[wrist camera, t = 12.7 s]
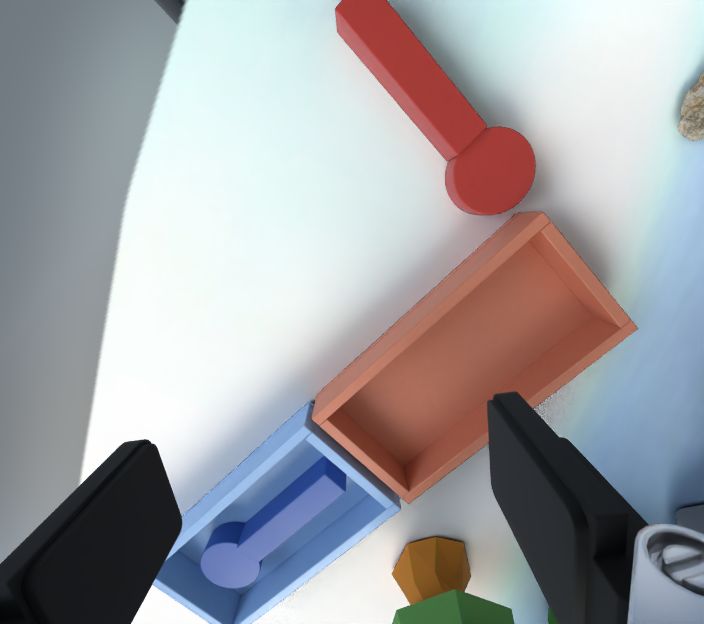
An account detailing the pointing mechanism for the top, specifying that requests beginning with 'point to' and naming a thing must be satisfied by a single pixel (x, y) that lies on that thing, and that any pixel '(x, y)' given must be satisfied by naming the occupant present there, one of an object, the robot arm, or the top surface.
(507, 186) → the red spoon
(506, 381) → the red bin
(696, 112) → the stone tool
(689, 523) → the bracket
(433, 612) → the decorative tree
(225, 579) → the blue spoon
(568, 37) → the top surface
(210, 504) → the blue bin
